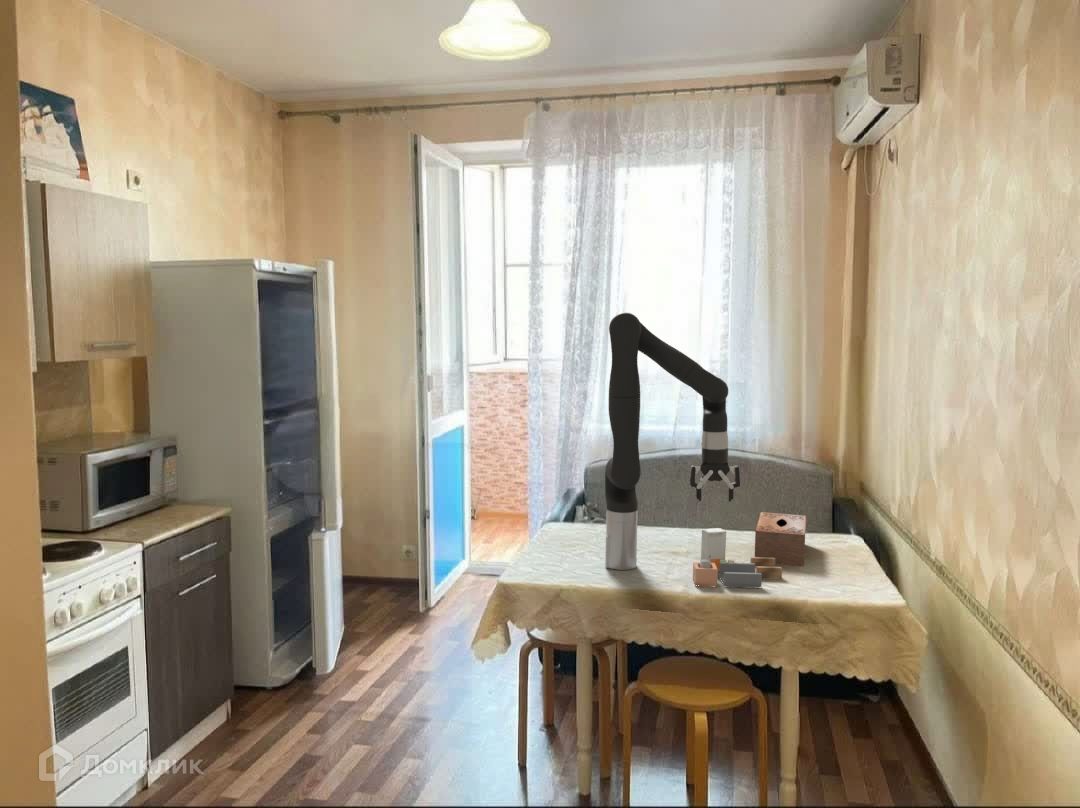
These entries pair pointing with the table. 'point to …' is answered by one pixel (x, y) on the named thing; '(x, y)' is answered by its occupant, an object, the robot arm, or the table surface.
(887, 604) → the table surface
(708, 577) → the cup
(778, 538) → the tissue box cover
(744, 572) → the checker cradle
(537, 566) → the table surface
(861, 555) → the table surface
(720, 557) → the skincare box
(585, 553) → the table surface
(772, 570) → the trough
